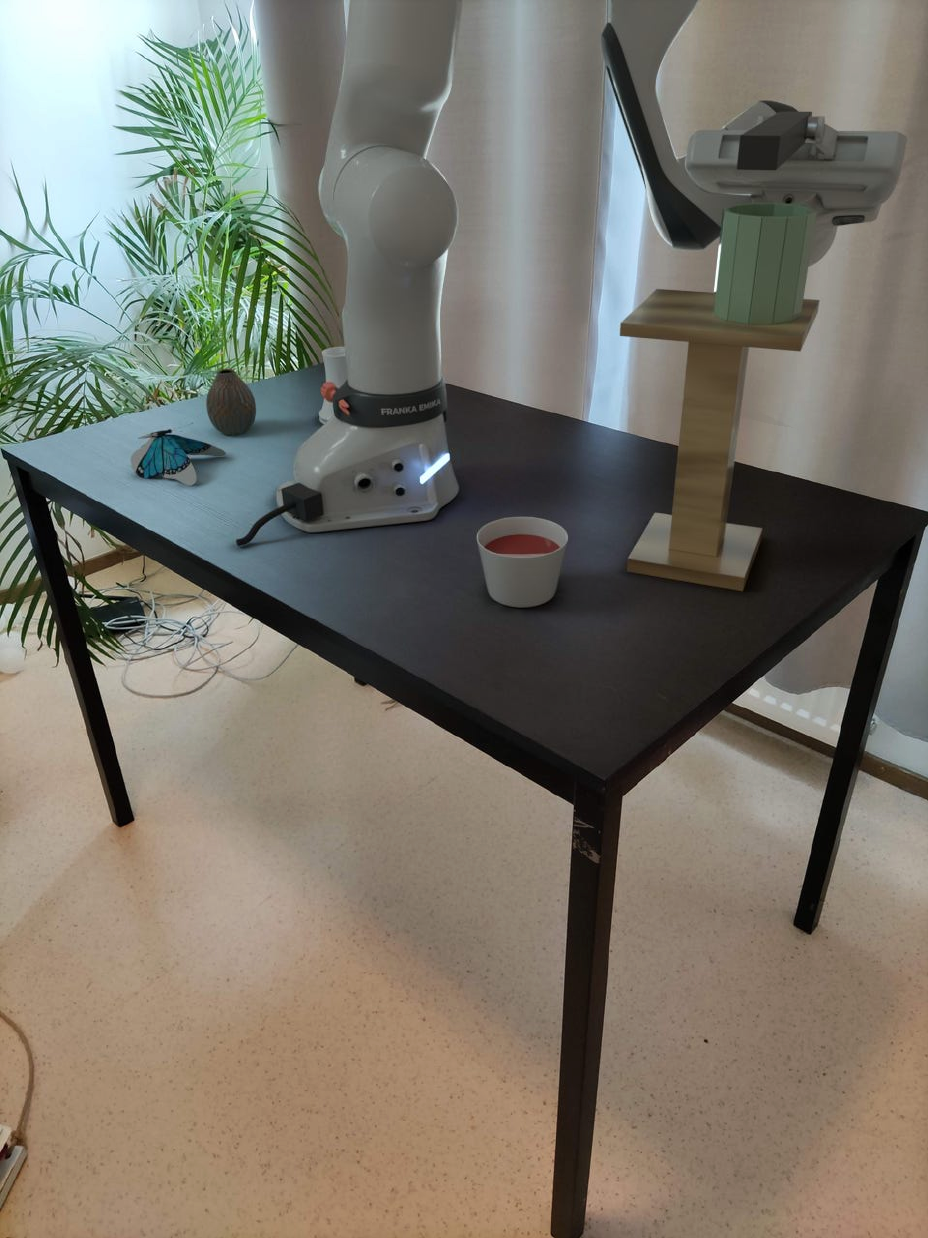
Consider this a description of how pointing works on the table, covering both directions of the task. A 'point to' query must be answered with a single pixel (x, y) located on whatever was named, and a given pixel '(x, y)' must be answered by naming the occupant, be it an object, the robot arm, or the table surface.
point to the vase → (230, 404)
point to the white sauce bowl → (522, 559)
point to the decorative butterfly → (170, 456)
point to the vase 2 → (333, 376)
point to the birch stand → (705, 437)
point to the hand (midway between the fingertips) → (789, 123)
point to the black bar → (772, 141)
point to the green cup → (763, 262)
